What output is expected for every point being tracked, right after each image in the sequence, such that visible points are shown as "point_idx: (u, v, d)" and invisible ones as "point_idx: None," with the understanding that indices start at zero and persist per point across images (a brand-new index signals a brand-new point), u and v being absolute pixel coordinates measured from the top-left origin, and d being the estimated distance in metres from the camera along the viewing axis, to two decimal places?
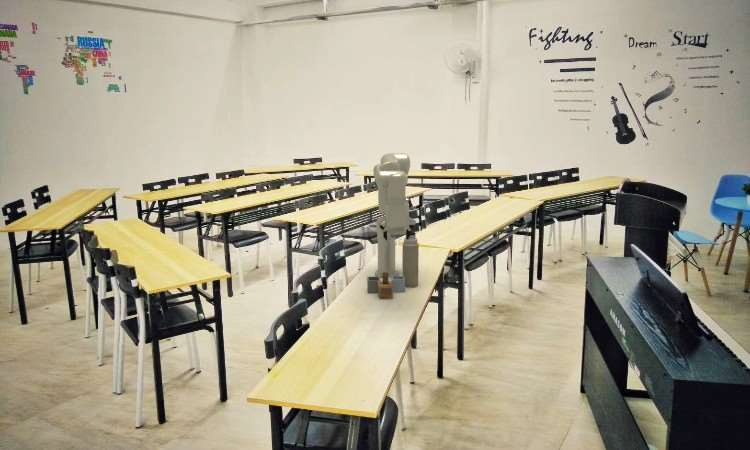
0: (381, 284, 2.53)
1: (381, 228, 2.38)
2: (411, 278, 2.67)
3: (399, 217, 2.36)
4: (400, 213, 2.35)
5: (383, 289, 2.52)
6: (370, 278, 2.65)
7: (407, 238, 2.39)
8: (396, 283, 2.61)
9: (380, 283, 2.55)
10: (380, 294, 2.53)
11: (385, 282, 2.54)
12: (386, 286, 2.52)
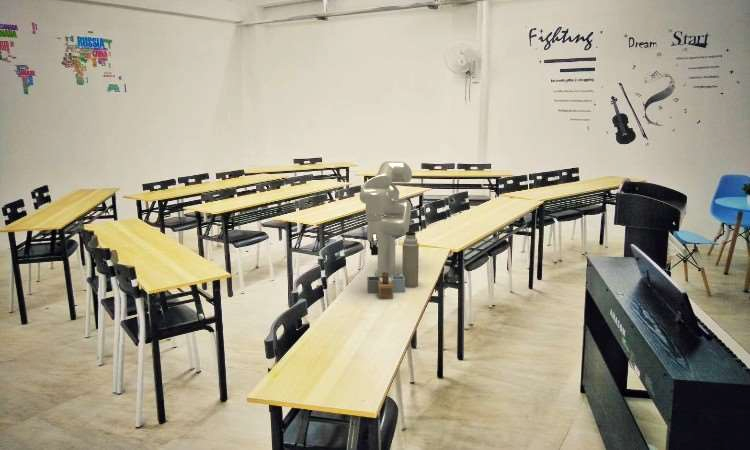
0: (381, 284, 2.53)
1: (376, 245, 2.52)
2: (411, 278, 2.67)
3: None
4: None
5: (383, 289, 2.52)
6: (370, 278, 2.65)
7: None
8: (396, 283, 2.61)
9: (380, 283, 2.55)
10: (380, 294, 2.53)
11: (385, 282, 2.54)
12: (386, 286, 2.52)
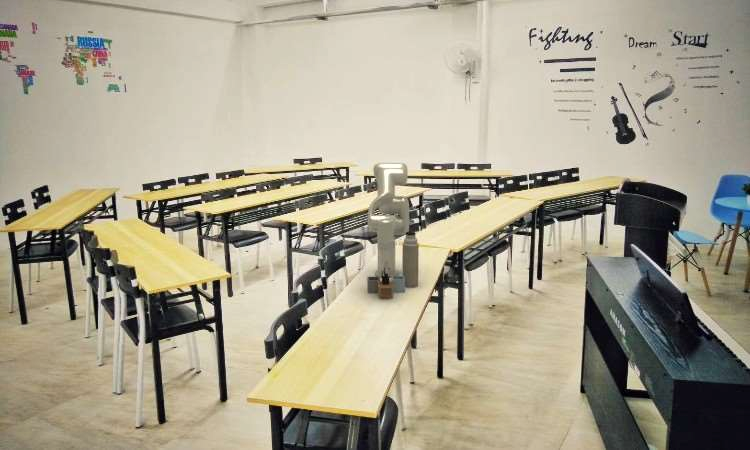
0: (381, 284, 2.53)
1: (388, 274, 2.50)
2: (411, 278, 2.67)
3: None
4: None
5: (383, 289, 2.52)
6: (370, 278, 2.65)
7: None
8: (396, 283, 2.61)
9: (380, 283, 2.55)
10: (380, 294, 2.53)
11: None
12: (386, 286, 2.52)
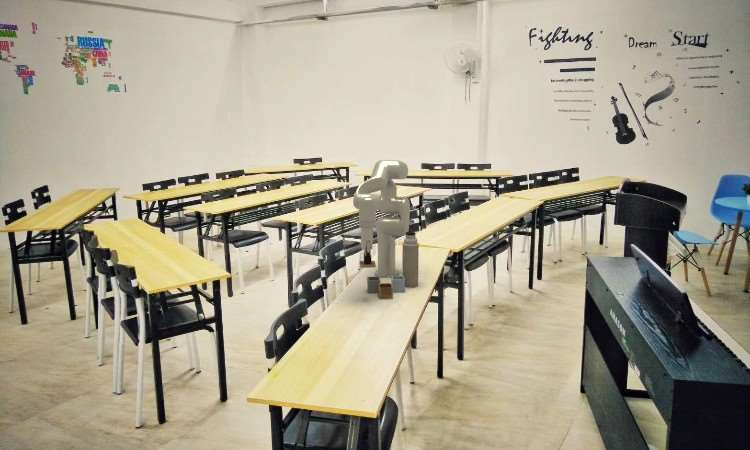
0: (363, 264, 2.48)
1: (369, 253, 2.45)
2: (411, 278, 2.67)
3: None
4: None
5: (383, 289, 2.52)
6: (370, 278, 2.65)
7: None
8: (396, 283, 2.61)
9: (362, 263, 2.50)
10: (380, 294, 2.53)
11: None
12: (368, 266, 2.47)
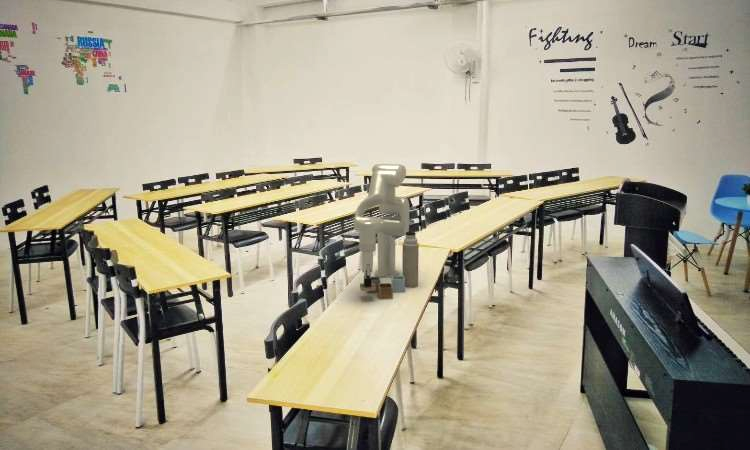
0: (363, 286, 2.51)
1: (369, 276, 2.48)
2: (411, 278, 2.67)
3: None
4: None
5: (383, 289, 2.52)
6: None
7: None
8: (396, 283, 2.61)
9: (362, 285, 2.52)
10: (380, 294, 2.53)
11: None
12: (368, 288, 2.49)
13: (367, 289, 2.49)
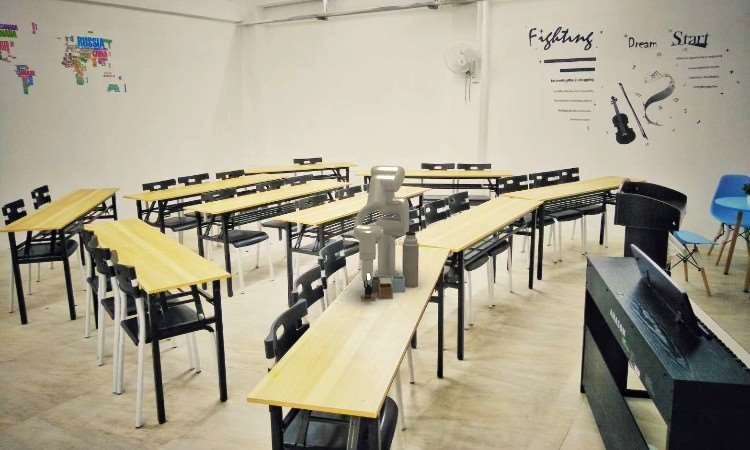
0: (363, 299, 2.52)
1: (370, 284, 2.46)
2: (411, 278, 2.67)
3: None
4: None
5: (383, 289, 2.52)
6: None
7: None
8: (396, 283, 2.61)
9: (362, 298, 2.54)
10: (380, 294, 2.53)
11: (367, 297, 2.52)
12: None
13: None
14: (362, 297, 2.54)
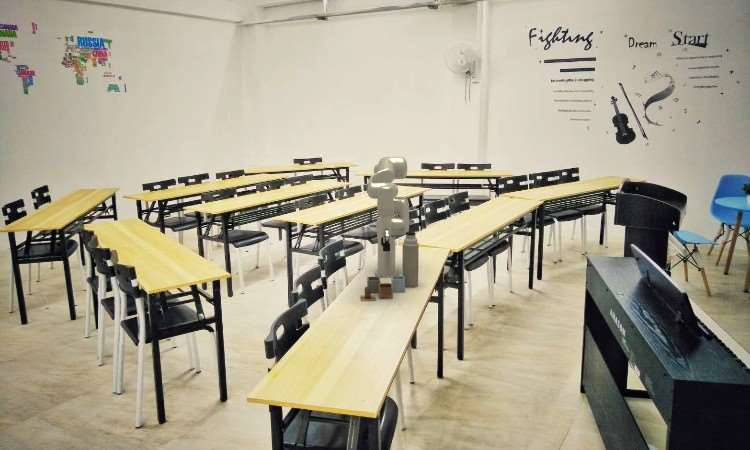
0: (363, 299, 2.52)
1: (388, 241, 2.43)
2: (411, 278, 2.67)
3: None
4: None
5: (383, 289, 2.52)
6: (370, 278, 2.65)
7: None
8: (396, 283, 2.61)
9: (362, 298, 2.54)
10: (380, 294, 2.53)
11: (367, 297, 2.52)
12: None
13: None
14: (362, 297, 2.54)
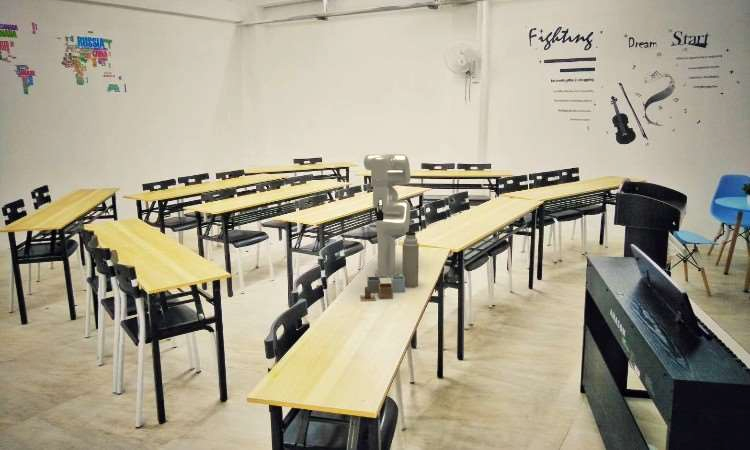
0: (363, 299, 2.52)
1: (382, 210, 2.51)
2: (411, 278, 2.67)
3: None
4: None
5: (383, 289, 2.52)
6: (370, 278, 2.65)
7: None
8: (396, 283, 2.61)
9: (362, 298, 2.54)
10: (380, 294, 2.53)
11: (367, 297, 2.52)
12: None
13: None
14: (362, 297, 2.54)
